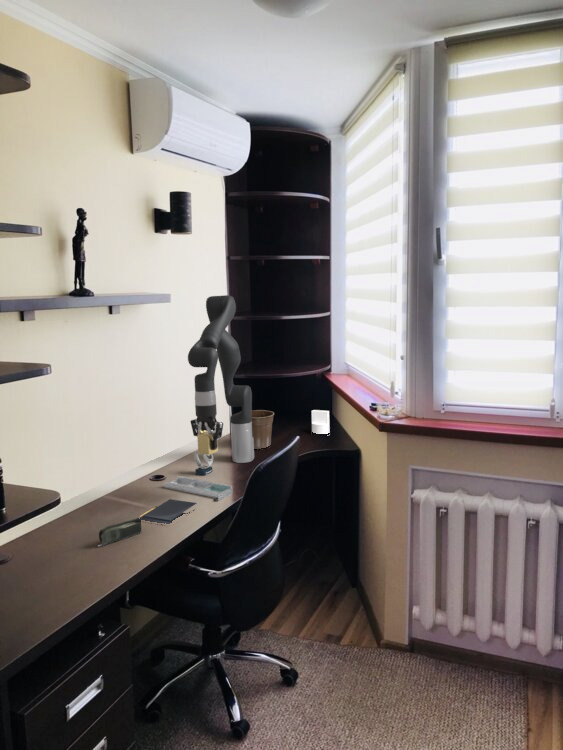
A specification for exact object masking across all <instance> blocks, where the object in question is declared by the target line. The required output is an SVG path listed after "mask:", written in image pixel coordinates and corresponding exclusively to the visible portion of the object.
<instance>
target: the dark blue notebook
mask: <svg viewBox="0 0 563 750" xmlns="http://www.w3.org/2000/svg"><path fill="white" fill-rule="evenodd" d="M197 504H198V503H197V502H192V501H186V500H179V499H171V498H169V499H168V500H166V501H165V502H162V504H159V505H158V506H155V507H153V508H151V509H149V510H148V511H145V513H143V514H141V515H140V516H138V517H140V520H145V521H150V522H157V523H164V524H165V523H166V524H170V523H172V521H173V520H175V519H176V518H178V517H180V516H182V515H183V514H188V513H189V514H191V513H190V512H191V511H189V512H187V513H185V512H186V511H187V510H189V509H191V508H192V507H194V506H195V505H197ZM195 509H196V508H194V509H193V510H192V511H193V512H194V511H196V510H195ZM189 514H188V515H189Z"/></svg>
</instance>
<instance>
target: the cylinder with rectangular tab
mask: <svg viewBox="0 0 563 750" xmlns="http://www.w3.org/2000/svg"><path fill="white" fill-rule="evenodd" d="M330 423H331V422H330V410H322V409H321V410H320V409H313V410H311V433H312V432H313V433H316V434H328V433H330V432H331V431H330V429H331V427H330ZM330 434H331V433H330Z"/></svg>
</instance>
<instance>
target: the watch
mask: <svg viewBox="0 0 563 750" xmlns="http://www.w3.org/2000/svg"><path fill="white" fill-rule="evenodd" d="M213 454H214V453H213ZM213 454H210V455H206V454H202V458H203V460H204V461H205V462H206V464H207V465H203V463H202V462H201V460H200V458H199V453H198V450H195V452H194V454H193V459H194V462H195V464H196V466H197V467H198V468H196V469H195V470H194V471H195V475H196V476H203V477H205V476H208V475H209V474H211V473H213V466H212V465H213V462H214V455H213Z"/></svg>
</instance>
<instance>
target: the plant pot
mask: <svg viewBox="0 0 563 750" xmlns="http://www.w3.org/2000/svg"><path fill="white" fill-rule="evenodd" d="M274 417H275V412H274V411H270V410H265V409H256V410H255V409H254V410H253V409H252V437H253V438H254V449H257V450H259V449H260V450H262V449H261V448H266V447H268V446H270V445H271V444H272V430H273V422H274ZM270 447H271V446H270Z"/></svg>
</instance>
